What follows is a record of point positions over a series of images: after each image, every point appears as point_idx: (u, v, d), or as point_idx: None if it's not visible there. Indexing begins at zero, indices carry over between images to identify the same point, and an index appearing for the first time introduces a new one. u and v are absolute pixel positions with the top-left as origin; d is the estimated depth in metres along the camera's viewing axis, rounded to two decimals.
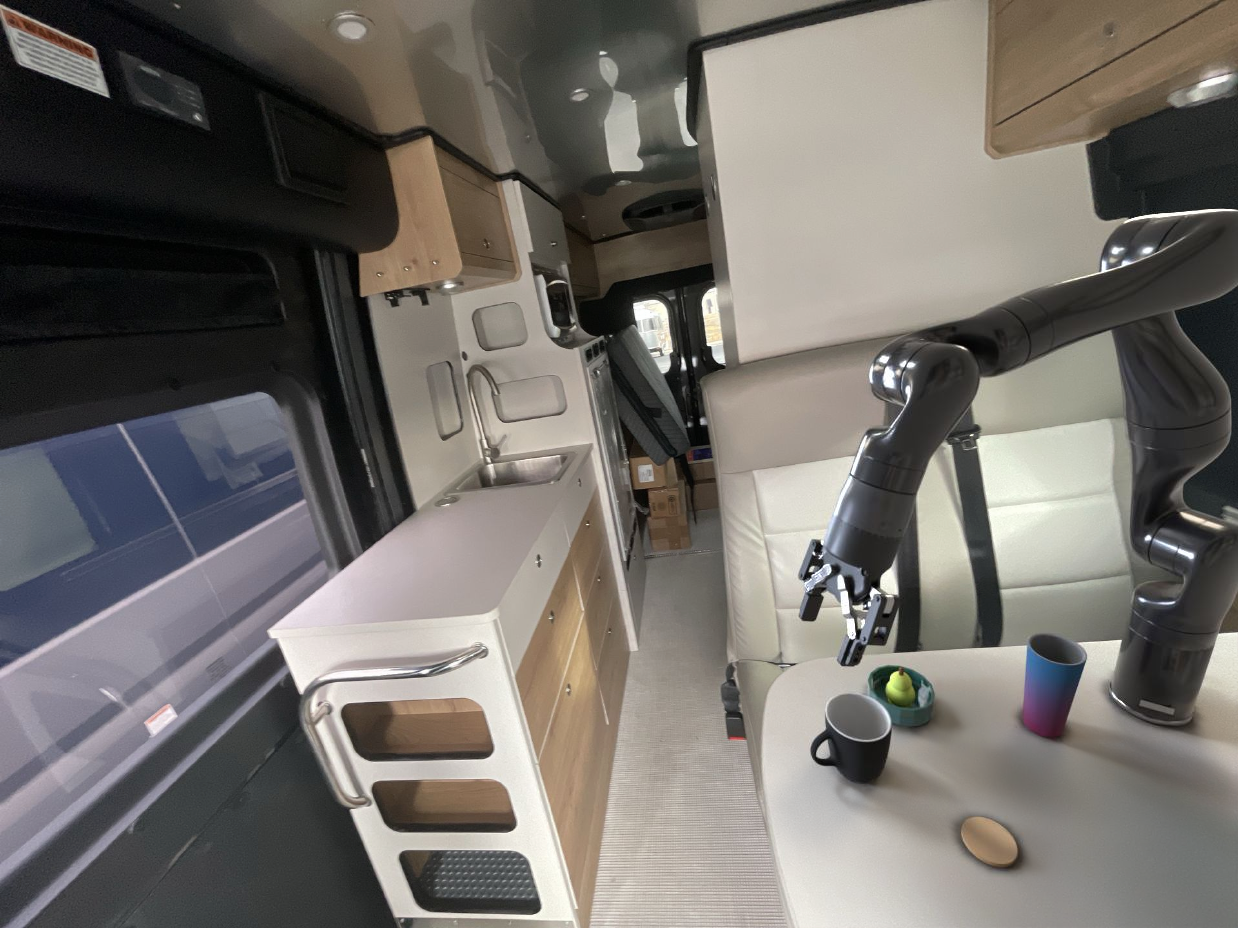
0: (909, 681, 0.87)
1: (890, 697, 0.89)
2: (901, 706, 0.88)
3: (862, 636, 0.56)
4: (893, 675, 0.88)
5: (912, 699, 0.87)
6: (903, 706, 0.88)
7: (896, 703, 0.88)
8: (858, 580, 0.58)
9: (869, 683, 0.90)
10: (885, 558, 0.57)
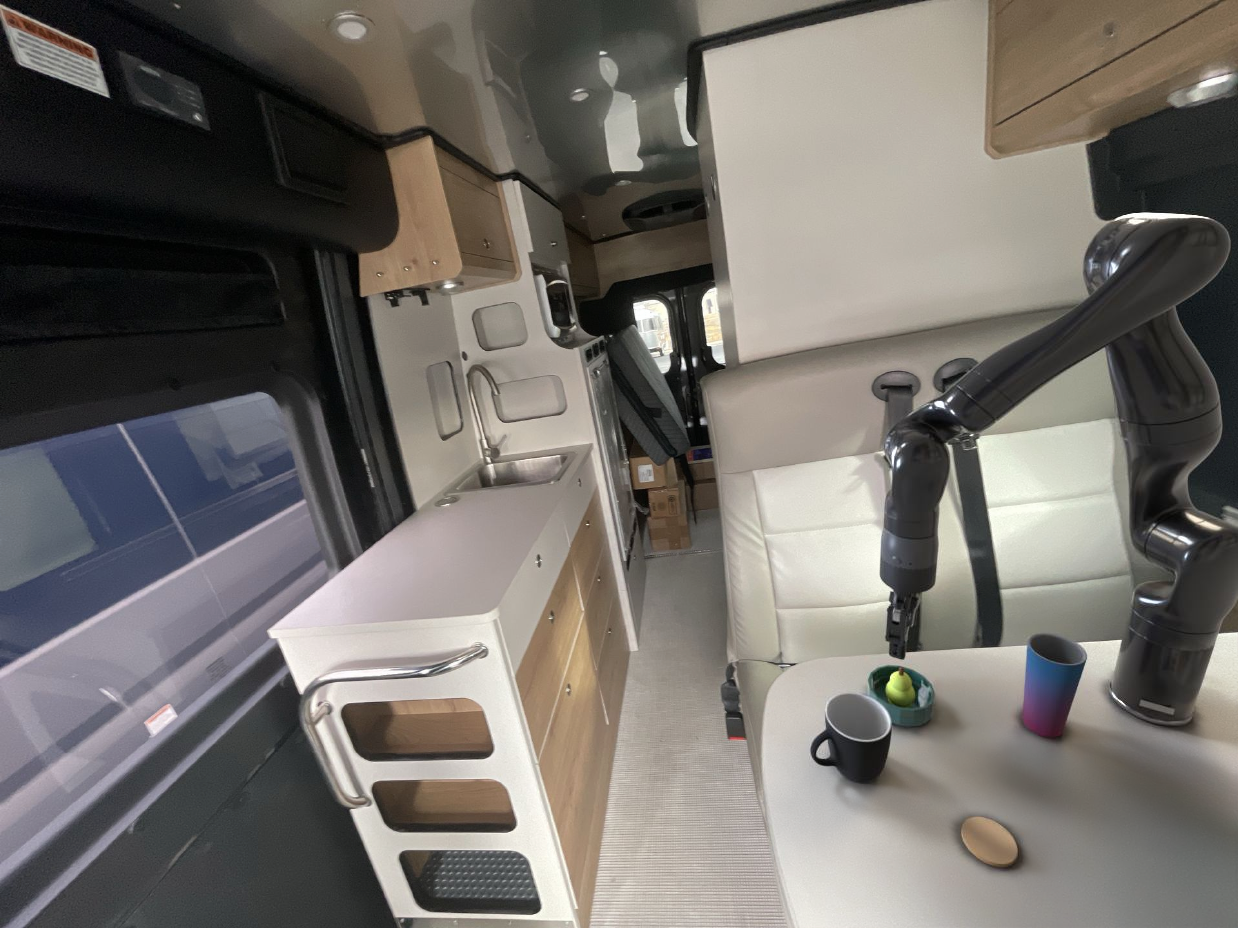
0: (909, 681, 0.87)
1: (890, 697, 0.89)
2: (901, 706, 0.88)
3: (885, 635, 0.79)
4: (893, 675, 0.88)
5: (912, 699, 0.87)
6: (903, 706, 0.88)
7: (896, 703, 0.88)
8: (894, 596, 0.80)
9: (869, 683, 0.90)
10: (905, 583, 0.77)
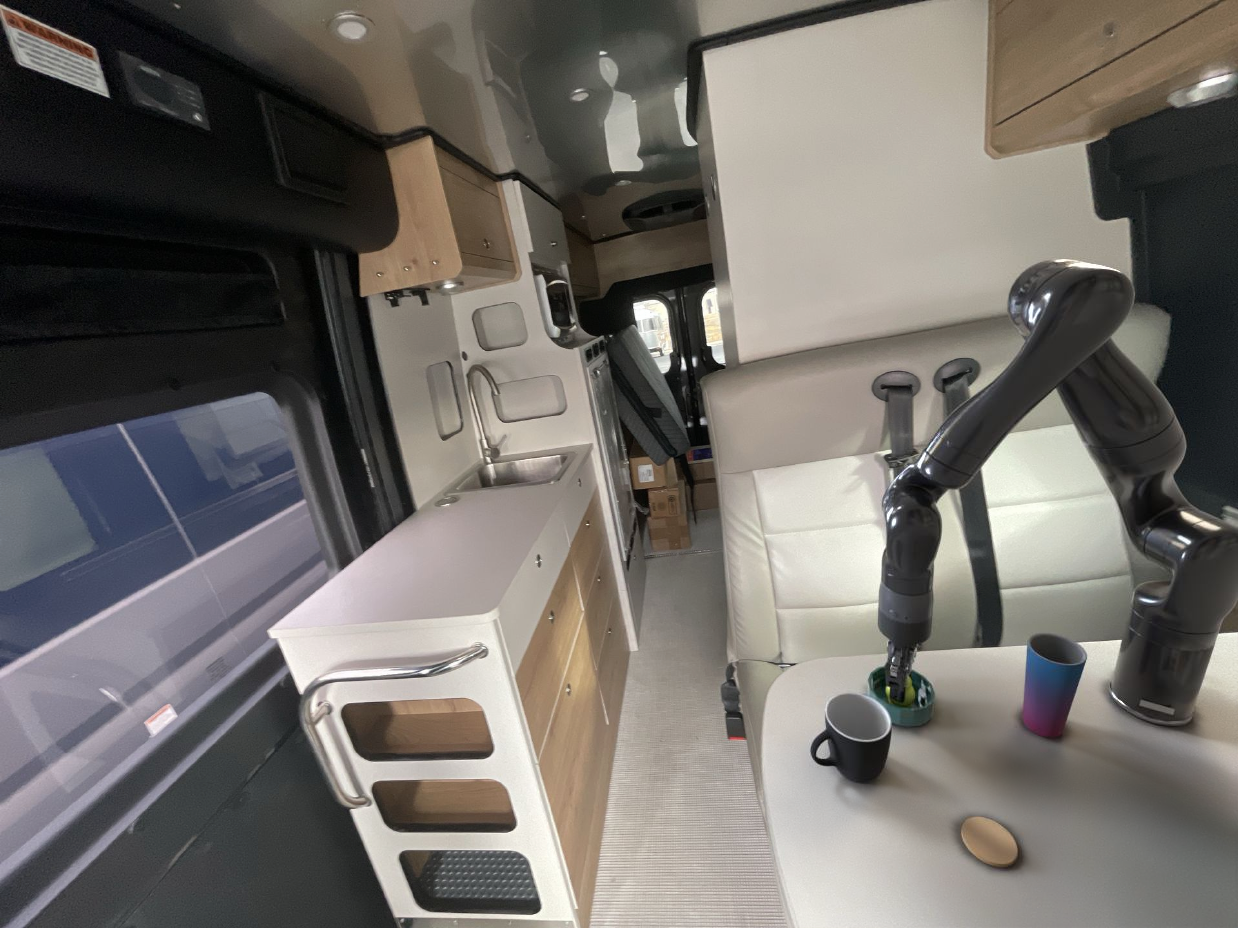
0: (909, 681, 0.87)
1: None
2: (901, 706, 0.88)
3: None
4: None
5: (912, 699, 0.87)
6: (903, 706, 0.88)
7: (896, 703, 0.88)
8: None
9: (869, 683, 0.90)
10: (902, 635, 0.81)
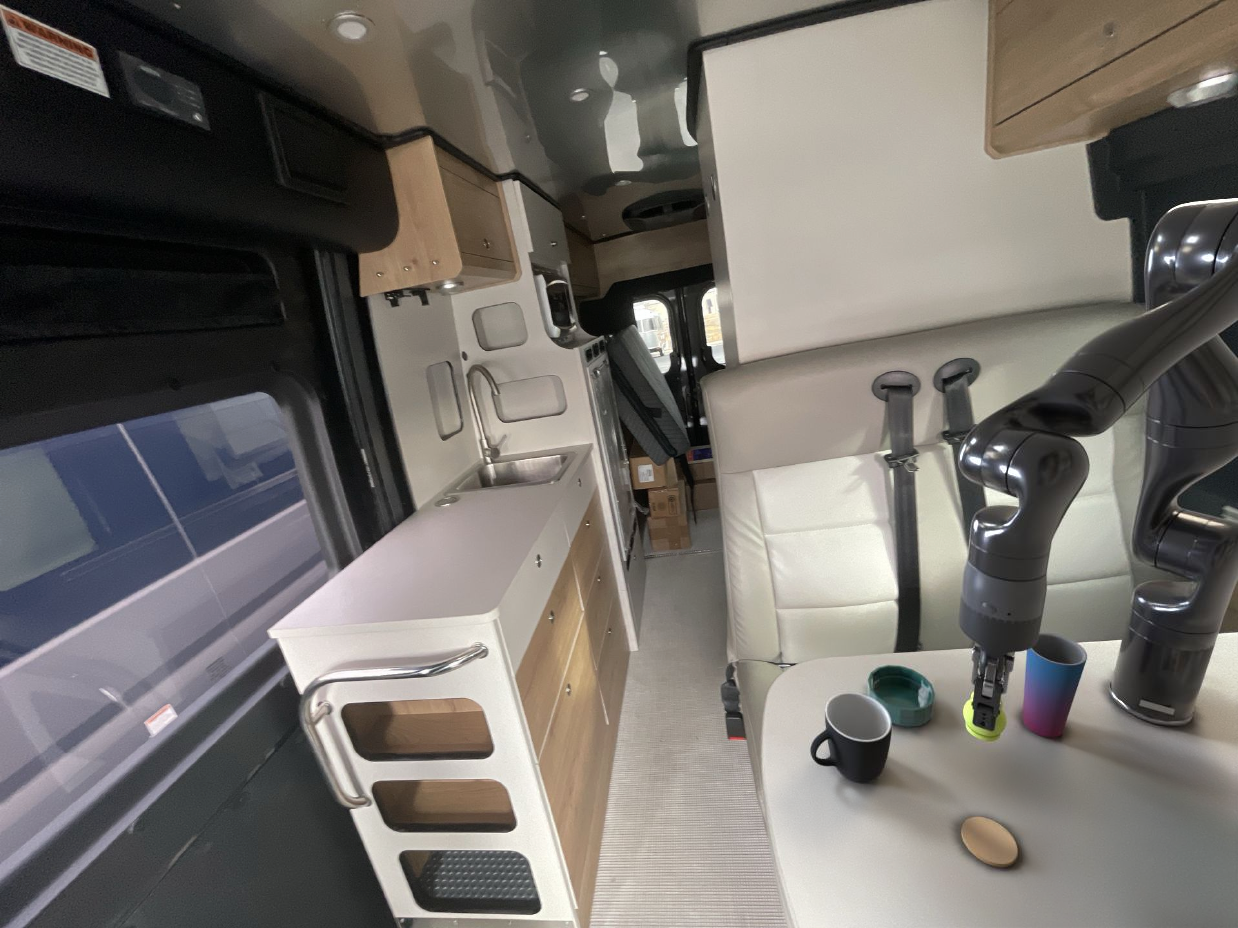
0: (1000, 701, 0.63)
1: (972, 723, 0.65)
2: (987, 735, 0.64)
3: None
4: None
5: (1003, 726, 0.64)
6: (990, 735, 0.64)
7: (980, 731, 0.64)
8: None
9: (869, 683, 0.90)
10: (1000, 639, 0.57)
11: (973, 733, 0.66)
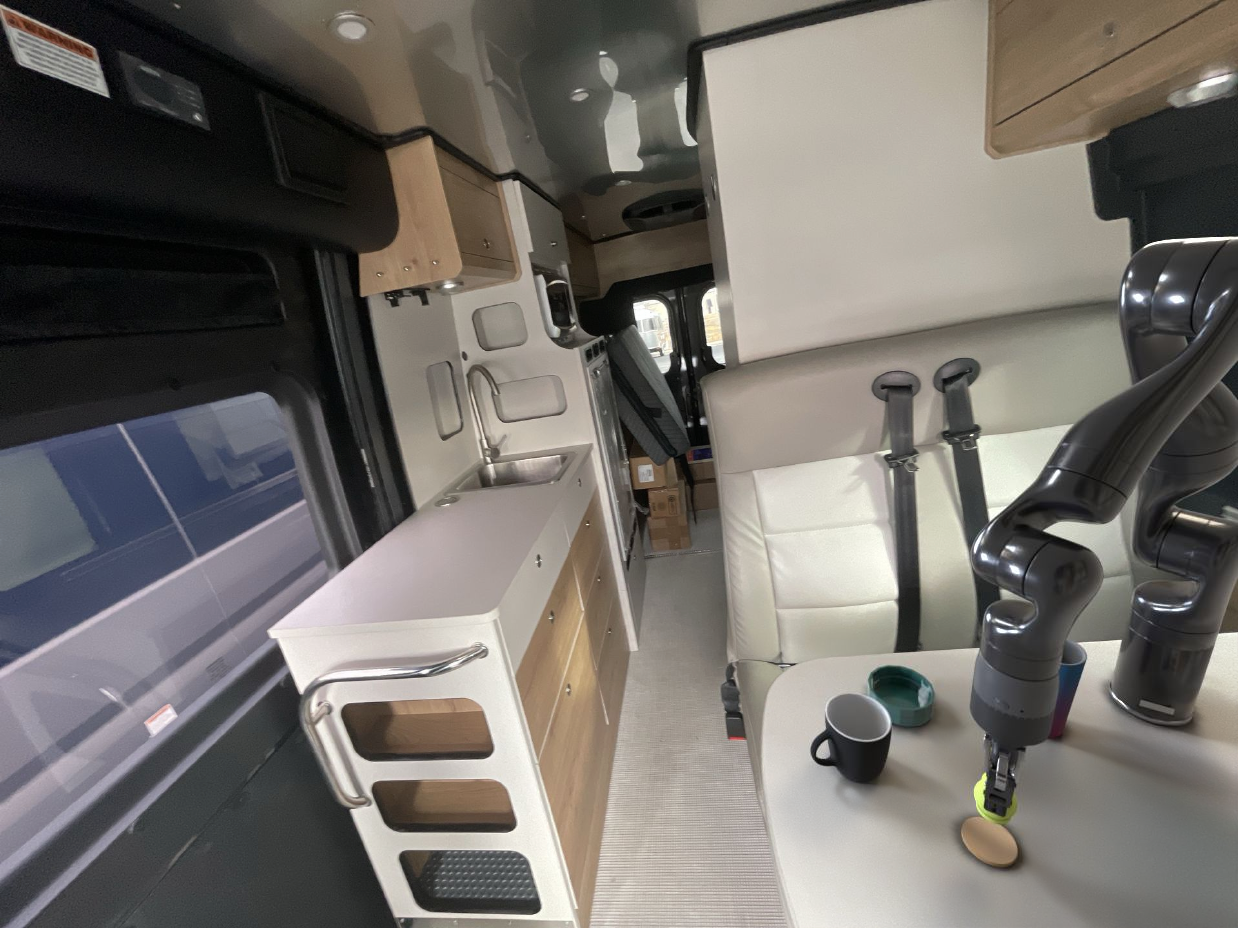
0: None
1: (983, 806, 0.65)
2: (998, 819, 0.65)
3: (983, 790, 0.61)
4: None
5: (1014, 811, 0.64)
6: (1001, 819, 0.65)
7: (992, 815, 0.65)
8: None
9: (869, 683, 0.90)
10: (1012, 733, 0.58)
11: (984, 815, 0.66)
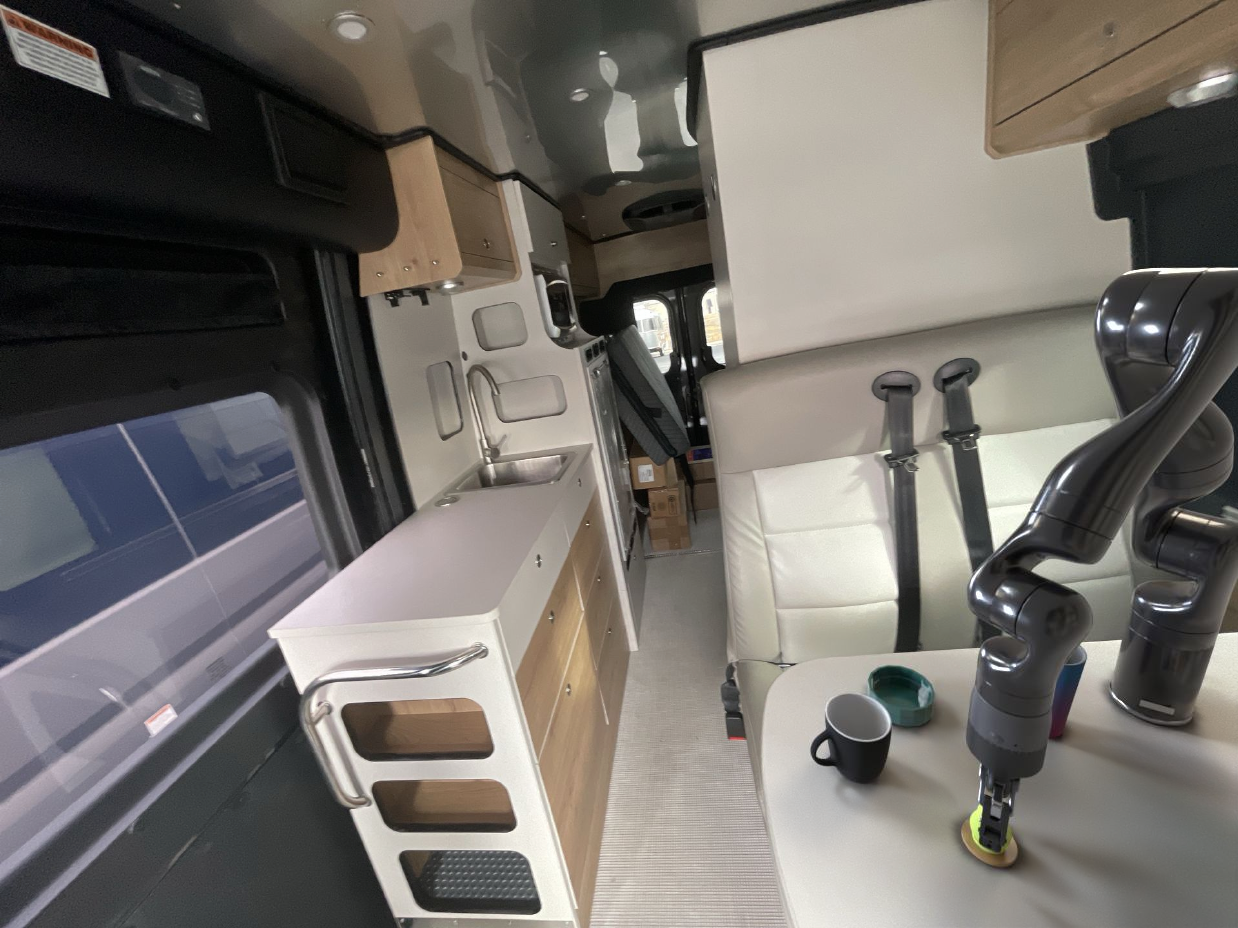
0: None
1: (978, 836, 0.67)
2: None
3: None
4: None
5: (1009, 841, 0.66)
6: None
7: None
8: (988, 774, 0.62)
9: (869, 683, 0.90)
10: (1006, 766, 0.59)
11: (979, 845, 0.68)
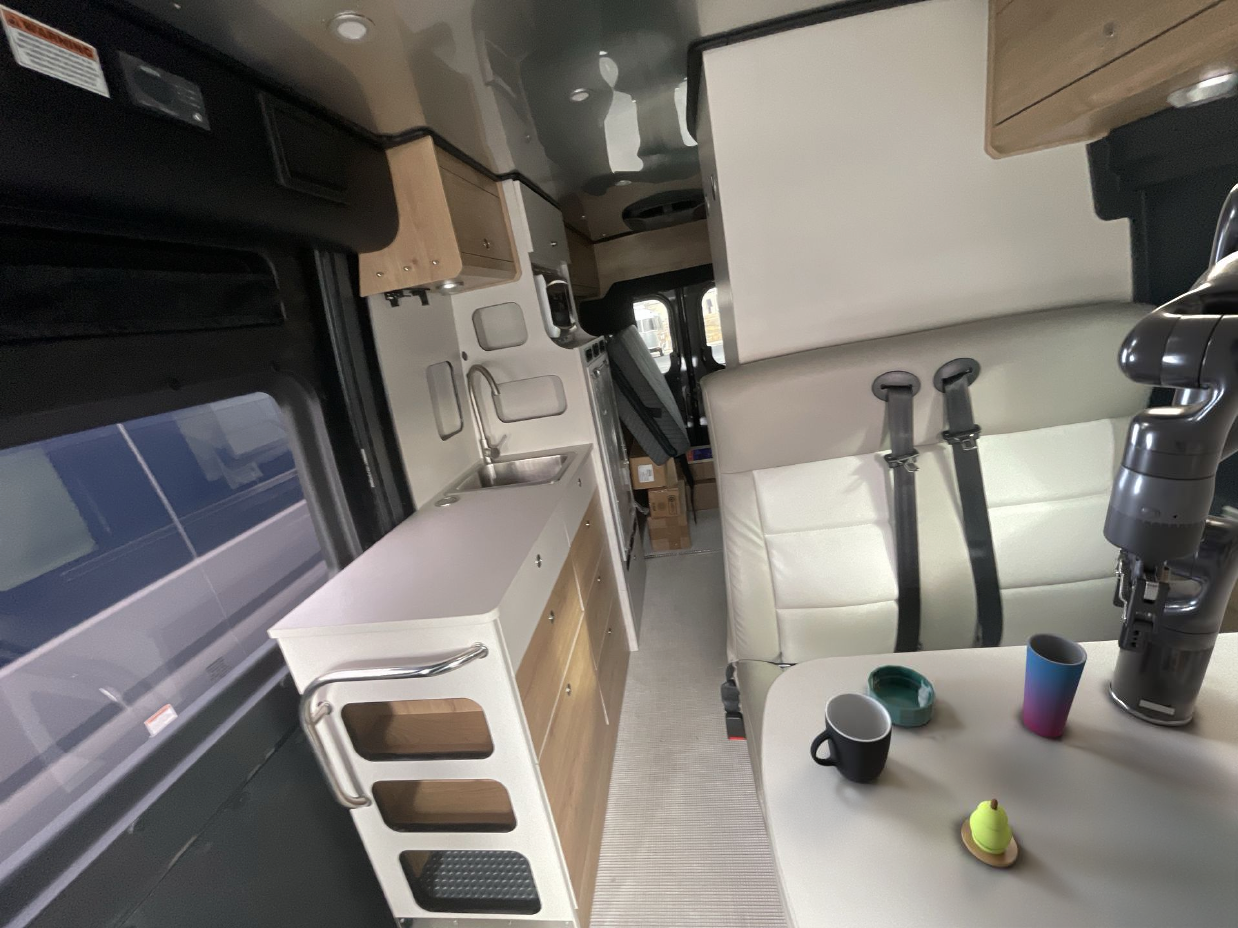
0: (1005, 818, 0.66)
1: (978, 836, 0.67)
2: (993, 849, 0.67)
3: (1125, 618, 0.57)
4: (982, 807, 0.67)
5: (1009, 841, 0.66)
6: (996, 849, 0.67)
7: (987, 845, 0.67)
8: (1133, 565, 0.58)
9: (869, 683, 0.90)
10: (1161, 545, 0.55)
11: (979, 845, 0.68)
